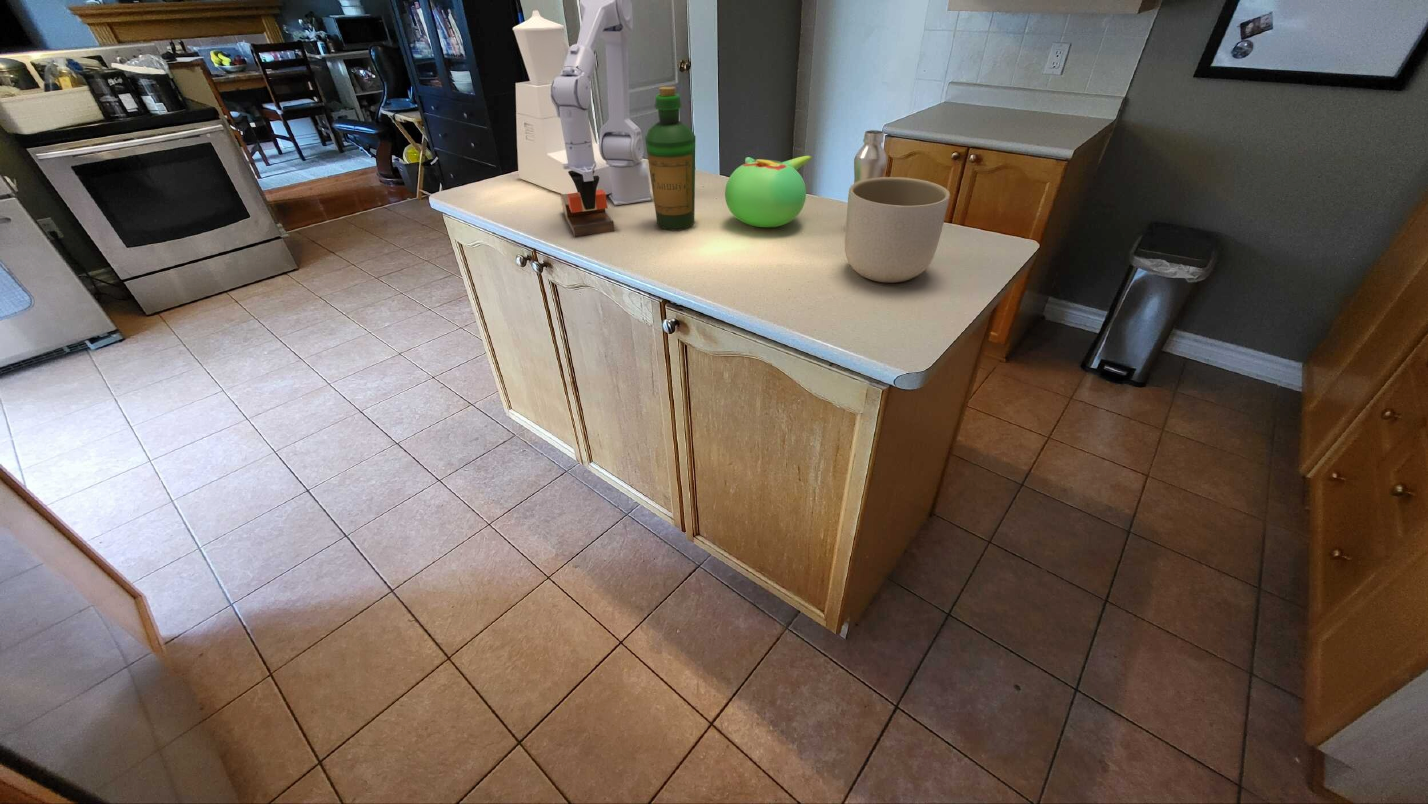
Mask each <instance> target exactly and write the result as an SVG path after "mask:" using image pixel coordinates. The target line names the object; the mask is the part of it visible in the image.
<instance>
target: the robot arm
mask: <svg viewBox="0 0 1428 804" xmlns="http://www.w3.org/2000/svg"><path fill="white" fill-rule="evenodd" d="M579 9H580V10H579V11H580V15H581V24H580V28H579V33H578V38H577V42H576V43H574V44H572V45H571V46H569V47H570V48H569V51H568V54H567V57H565V63H564V66H563V69H562V72H561V74H560V76H557V77H556V78H555V79H554V80H553V81H552V83H551V94H550V96H551V100H552V102H553V104H554V106H555V108H556V112H557V115H558V117H559V118H560V119H561V125H562V131H563V137H564V143H565V148H566V154H567V160H568V163H567V164H563V168H564V169H570V170H572V171H568V173H569V175H570V176H571V178H572V180H573V182H574V184H575V186H576V189H577V192H579V193H580V196H581V199H582V202H583V205H584V208H585V209H586V210H589V209H595V198H596V188H597V185H598V182H599V176H593V174H594V169H595V167H596V162H595V159H594V152H593V145H592V138H591V131H590V124H591V123H590V124H589V121H590V117H589V111H588V108H589V107H590V104H591V102H592V101H591V100H592V83H591V80H592V77H593V74H594V71H595V68H596V65H597V57H596V55H595V51H596V48H597V45H598V44H599V41H600V39H601V38H602V40H603V42H604V44H605V61H606V81H607V82H606V84H607V86H606V87H607V108H608V109H607V110H608V120H607V121H606V122H605V123H604V124H603V125H602V126H601V127H600V129H599V132H600V133H599V141H598V144H599V152H600V155H601V157H602V159H603V160H604V161H606V165H609V171H610V178H611V186H612V193H610V194H608V197H609V198H610V200H611V201H612V203H613V204H614V206H620V205H627V204H635V203H642V202H650V201H652V196H651V186H650V176H649V175H650V174H649V169H648V166H647V163H646V162H645V160H644V161H643V160H642V159H643V157H644V154H645V153H644V151H645V147H644V142H643V135H642V129H641V128H640V127H639V126H638V125H637V124H636V123H634V122H633V121H632V120H631V117H630V86H629V85H630V84H629V52H628V51H629V50H628V48H629V47H628V39H629V38H630V37H631V36H632V35H633V33H634V32H633V27H634V20H633V18H634V17H633V3H632V0H579ZM618 133H627V134H618Z"/></svg>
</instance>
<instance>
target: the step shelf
mask: <svg viewBox="0 0 1428 804" xmlns="http://www.w3.org/2000/svg"><path fill="white" fill-rule="evenodd" d="M570 194H571V193H570ZM559 197H560V201H561V206H562V212H563V215H564V217H565V219H566V221H567V223H568V225H569V228H570V229H571V231H572V234H573V235H574V237H582V236H588V235H595V234H601V233H609V232H615V224H614V223H615V222H614V220H611V218H610V217H609V215H608V214H607V212H606V208H604V209H597V210H591V211H583V212H575V213H572V212H571V210H570V208H569V203H568V197H567V194H560V196H559Z"/></svg>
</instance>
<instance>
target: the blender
mask: <svg viewBox="0 0 1428 804" xmlns="http://www.w3.org/2000/svg"><path fill="white" fill-rule="evenodd" d="M531 13H532V14H531V17H530V18H528V19H527V20H525V21H523V22H521V23H518V24H517V25H515V26H513V27H512V31H513V33H514V36H515V39H516V43H517V45H518V48H519V52H520V54H521V57H522V60H523V64H524V67H525V69H526V72H527V73H526V74H527V75H528V79H529V80H527V81H521V82H515V111H516V112H515V118H516V149H517V171H518V173H517V174H518V178H519V179H521V180H524V181H525V182H528V183H532V184H534V185H537V186H539V187H542V188H544V189H547V190H550V191H553V192H555V193H558V194H560V195H563V194H570V193H578V192H577V189H576V186H575V184H574V182H573V180H572V178H571V176H570V175H569V173H568V171H572V170H570V169H564V168H563V164H567V163H568V160H567V154H566V148H565V143H564V137H563V131H562V125H561V119H560V118H559V117H558V115H557V112H556V108H555V106H554V104H553V102H552V100H551V96H550V94H551V83H552V81H553V80H554V79H555V78H556V77H557V76H560V74H561V72H562V69H563V66H564V63H565V60H566V57H567V54H568V51H569V48H570V47H571V46H570V45H569V42H568V40H567V38H566V36H565V32H564V31H565V29H564V28H565V26H564V25H563V24H560V23H559V22H555V21H552V20H549V19H546V18H545V17H542V16H541V14H540V12H539V10H536V9H535V10H532V12H531ZM565 56H566V57H565ZM589 124H590V131H591V138H592V145H593V152H594V159H595V162H596V167H595V169H594V174H593V176H599V182H598V185H597V188H596V190H603V191H604V192H605V194H606V195H611V194H612V186H611V178H610V171H609V165H606V161H604V160H603V159H602V157H601V155H600V152H599V143H597V142H596V138H595V135H594V131H593V128H592V124H591V121H590V120H589Z"/></svg>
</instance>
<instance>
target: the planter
mask: <svg viewBox="0 0 1428 804" xmlns="http://www.w3.org/2000/svg"><path fill="white" fill-rule="evenodd" d="M950 200H951V192H950V191H949V190H948V189H947V188H946V187H944V186H942V185H940V184H938V183H935V182H932V181H928V180H924V179H919V178H911V177H903V176H901V177H900V176H883V177H880V178H871V179H866V180H862V181H859V182H856V183H854V182H853V183H852V185H850V187H849V189H848V197H847V207H846V217H845V219H846V220H845V229H844V253H845V258H846V260H847V262H848V264H849V266H850V267H851V268H852V269H853V270H854V272H856V273H857V274H858V275H860V276H862V277H863V278H865V279H868V280H869V281H874V282H878V283H890V284H891V283H892V284H895V283H902V282H906V281H910V280H911V279H913V278H916V277H918V276H919V275H921V274H922V273H923V272H925V271H926V270H927V269H928V267H930V265H931V263H932V261H933V260H934V257H935V254H936V251H937V248H938V246H939V242H940V239H941V236H942V235H941V234H942V231H943V227H944V223H945V220H946V215H947V211H948V208H949V203H950Z"/></svg>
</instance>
